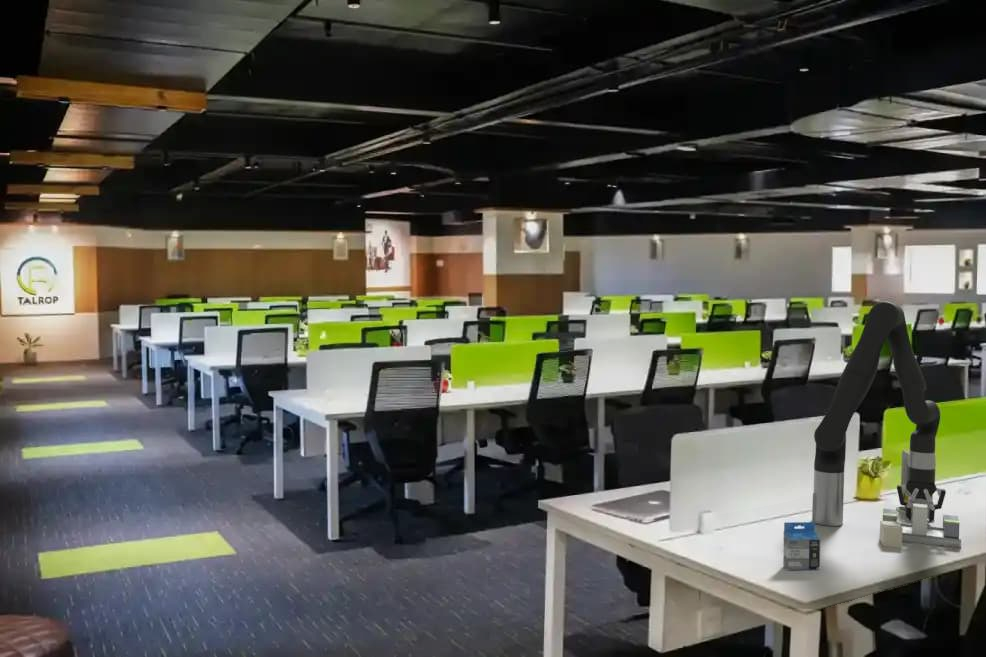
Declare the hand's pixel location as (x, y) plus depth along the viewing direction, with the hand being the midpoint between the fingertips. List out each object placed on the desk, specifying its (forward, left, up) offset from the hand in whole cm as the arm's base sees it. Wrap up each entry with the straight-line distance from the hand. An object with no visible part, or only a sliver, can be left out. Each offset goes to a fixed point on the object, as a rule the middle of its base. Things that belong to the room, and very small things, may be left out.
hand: (920, 520), depth 277 cm
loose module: (0, 0, -4) cm, 4 cm away
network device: (-1, +30, -6) cm, 31 cm away
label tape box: (-30, -48, -6) cm, 57 cm away
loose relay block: (-8, -11, -6) cm, 15 cm away
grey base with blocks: (0, 0, -5) cm, 5 cm away
